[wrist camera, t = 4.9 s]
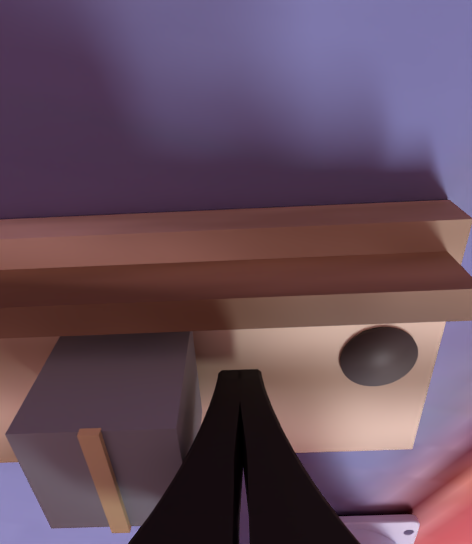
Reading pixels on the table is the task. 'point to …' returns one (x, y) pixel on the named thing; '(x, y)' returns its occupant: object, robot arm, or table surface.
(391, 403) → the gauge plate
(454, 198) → the table surface
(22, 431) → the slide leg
